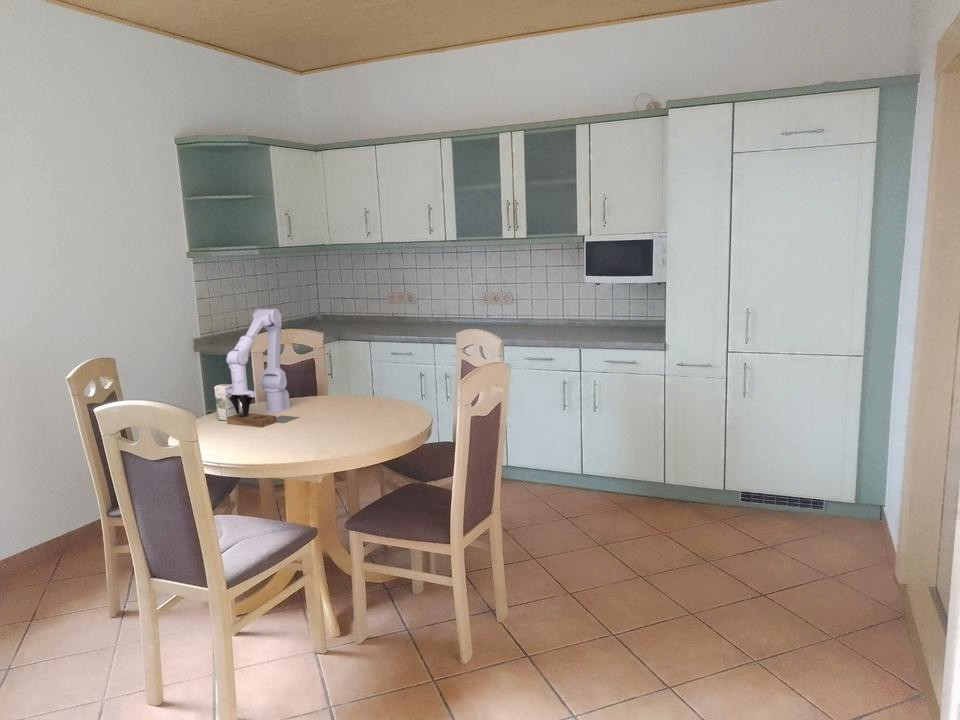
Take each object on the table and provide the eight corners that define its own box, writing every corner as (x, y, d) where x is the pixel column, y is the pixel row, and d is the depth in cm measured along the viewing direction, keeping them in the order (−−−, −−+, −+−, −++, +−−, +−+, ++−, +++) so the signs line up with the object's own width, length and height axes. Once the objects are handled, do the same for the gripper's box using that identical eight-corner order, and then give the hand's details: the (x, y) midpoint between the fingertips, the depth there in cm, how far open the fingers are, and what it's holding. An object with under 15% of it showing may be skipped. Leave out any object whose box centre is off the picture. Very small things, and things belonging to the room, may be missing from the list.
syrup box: (238, 418, 292) (234, 383, 289) (227, 421, 287) (224, 386, 284) (227, 417, 294) (224, 383, 292) (217, 420, 289) (213, 386, 287)
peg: (244, 418, 285) (242, 396, 283) (249, 419, 283) (246, 397, 281) (238, 420, 282) (235, 398, 281) (242, 420, 281) (240, 398, 279)
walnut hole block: (242, 419, 288) (241, 412, 288) (276, 423, 281) (275, 415, 280) (227, 424, 281) (227, 417, 281) (262, 428, 273) (261, 420, 273)
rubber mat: (281, 416, 292) (281, 415, 292) (300, 417, 288) (300, 417, 288) (264, 422, 283) (264, 421, 283) (284, 423, 279) (284, 423, 279)
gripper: (218, 381, 279) (221, 414, 282) (245, 383, 273) (249, 417, 275) (231, 378, 286) (234, 410, 288) (258, 379, 279) (261, 412, 282)
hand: (242, 413), depth 282 cm, fingers closed on peg, 3 cm apart
